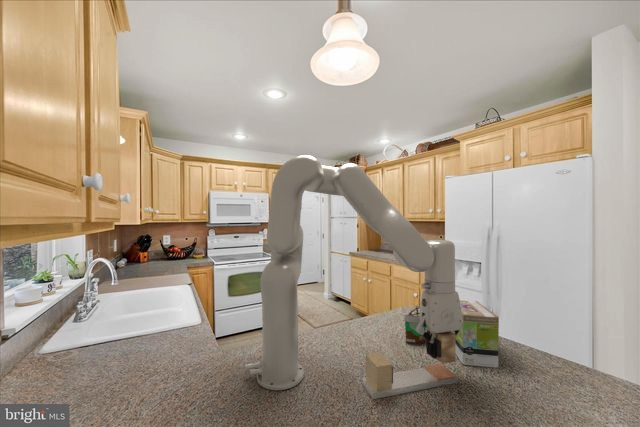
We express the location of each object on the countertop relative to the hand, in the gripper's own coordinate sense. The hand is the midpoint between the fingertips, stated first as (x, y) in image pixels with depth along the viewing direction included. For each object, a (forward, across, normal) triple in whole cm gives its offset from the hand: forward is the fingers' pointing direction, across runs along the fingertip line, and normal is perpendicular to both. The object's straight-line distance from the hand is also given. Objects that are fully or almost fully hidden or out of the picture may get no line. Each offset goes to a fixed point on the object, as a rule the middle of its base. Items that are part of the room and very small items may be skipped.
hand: (440, 353), depth 73 cm
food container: (+7, +8, +20) cm, 23 cm away
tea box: (+7, +18, +8) cm, 21 cm away
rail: (+6, -9, 0) cm, 11 cm away
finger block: (+1, 0, 0) cm, 1 cm away
